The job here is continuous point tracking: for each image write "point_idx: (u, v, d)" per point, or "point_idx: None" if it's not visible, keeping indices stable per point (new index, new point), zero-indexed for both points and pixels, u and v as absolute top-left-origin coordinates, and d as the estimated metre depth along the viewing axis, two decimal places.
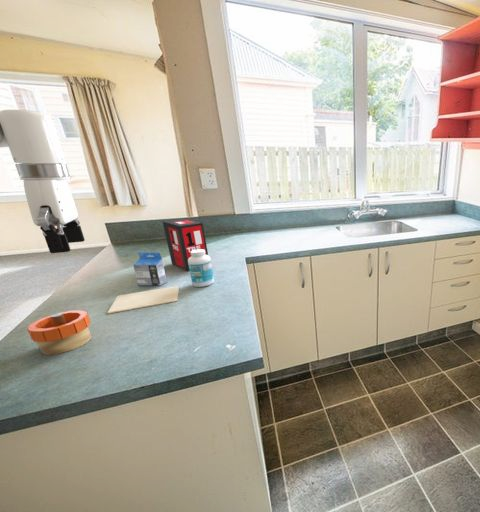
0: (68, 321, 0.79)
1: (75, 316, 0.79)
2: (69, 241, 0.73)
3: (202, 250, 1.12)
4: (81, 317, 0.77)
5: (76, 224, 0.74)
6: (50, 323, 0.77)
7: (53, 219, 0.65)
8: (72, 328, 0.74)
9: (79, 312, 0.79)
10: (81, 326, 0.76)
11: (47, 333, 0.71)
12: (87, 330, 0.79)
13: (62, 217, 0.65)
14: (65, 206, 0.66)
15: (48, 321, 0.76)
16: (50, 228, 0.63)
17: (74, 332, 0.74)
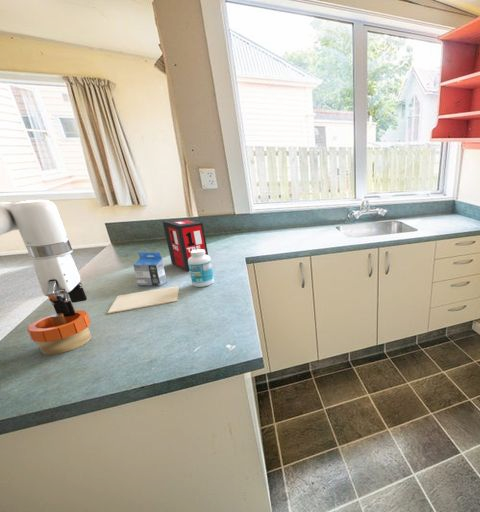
0: (68, 321, 0.79)
1: (75, 316, 0.79)
2: (73, 301, 0.85)
3: (202, 250, 1.12)
4: (81, 317, 0.77)
5: (79, 286, 0.85)
6: (50, 323, 0.77)
7: (59, 288, 0.77)
8: (72, 328, 0.74)
9: (79, 312, 0.79)
10: (81, 326, 0.76)
11: (47, 333, 0.71)
12: (87, 330, 0.79)
13: (67, 287, 0.76)
14: (69, 276, 0.77)
15: (48, 321, 0.76)
16: (58, 299, 0.74)
17: (74, 332, 0.74)
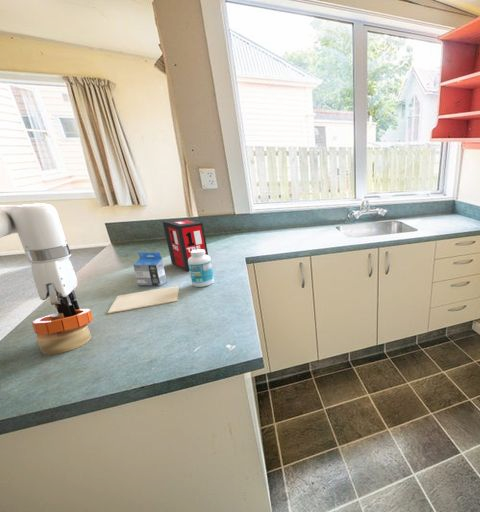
0: None
1: (79, 314, 0.81)
2: None
3: (202, 250, 1.12)
4: (84, 312, 0.79)
5: (73, 299, 0.82)
6: None
7: None
8: (74, 321, 0.76)
9: (83, 309, 0.81)
10: (83, 320, 0.78)
11: (50, 324, 0.73)
12: (87, 330, 0.79)
13: (64, 291, 0.76)
14: (66, 281, 0.77)
15: None
16: (62, 303, 0.77)
17: (76, 325, 0.76)
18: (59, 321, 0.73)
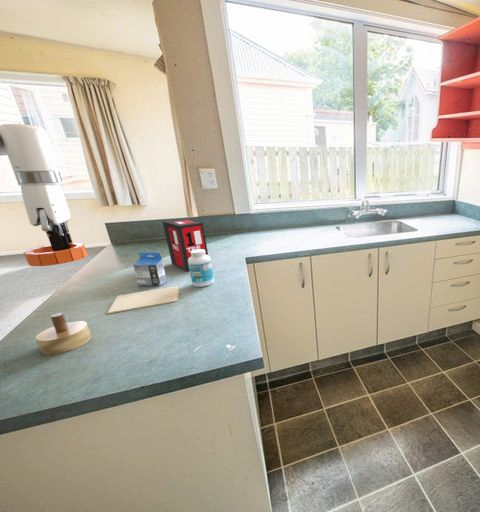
0: None
1: (72, 248, 0.79)
2: None
3: (202, 250, 1.12)
4: (77, 246, 0.76)
5: (65, 231, 0.79)
6: None
7: None
8: (68, 255, 0.74)
9: (76, 243, 0.79)
10: (77, 255, 0.76)
11: (43, 257, 0.71)
12: (87, 330, 0.79)
13: (55, 218, 0.73)
14: (58, 208, 0.75)
15: (45, 250, 0.76)
16: (54, 231, 0.75)
17: (70, 259, 0.74)
18: (52, 254, 0.71)
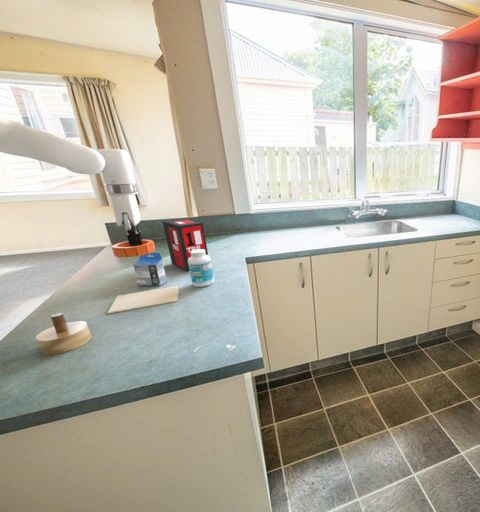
0: None
1: (143, 243, 1.00)
2: None
3: (202, 250, 1.12)
4: (149, 242, 0.97)
5: (138, 231, 1.00)
6: (125, 247, 0.98)
7: None
8: (144, 249, 0.95)
9: (146, 240, 1.00)
10: (150, 249, 0.97)
11: (127, 250, 0.92)
12: (87, 330, 0.79)
13: (134, 220, 0.95)
14: (135, 212, 0.96)
15: (124, 245, 0.97)
16: (132, 230, 0.96)
17: (146, 252, 0.95)
18: (134, 248, 0.92)
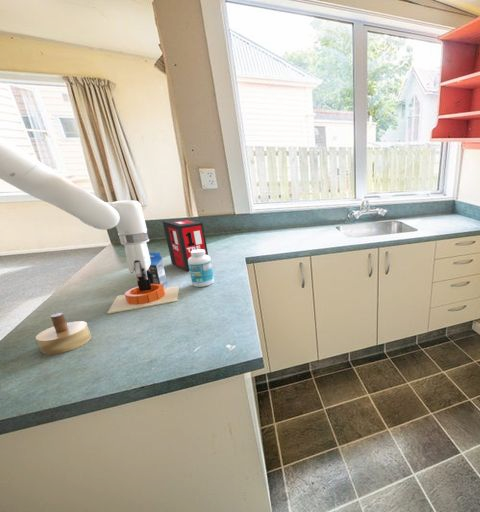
0: (149, 291, 1.05)
1: (154, 288, 1.05)
2: None
3: (202, 250, 1.12)
4: (160, 288, 1.03)
5: (149, 272, 1.07)
6: (137, 292, 1.03)
7: None
8: (155, 295, 1.00)
9: (157, 285, 1.05)
10: (160, 294, 1.02)
11: (139, 298, 0.97)
12: (87, 330, 0.79)
13: (146, 267, 0.99)
14: (147, 259, 1.01)
15: (136, 290, 1.02)
16: (142, 277, 0.99)
17: (156, 298, 1.00)
18: (145, 295, 0.98)
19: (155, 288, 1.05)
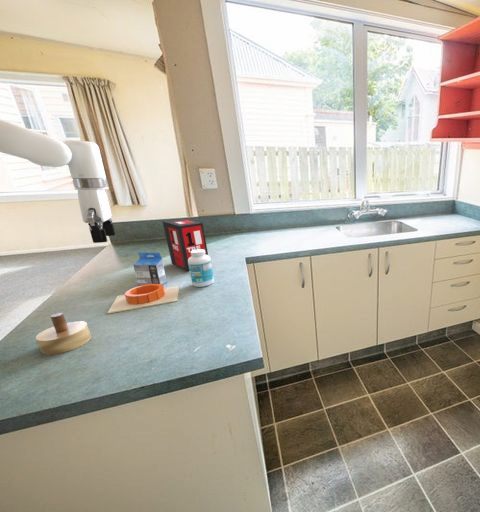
0: (149, 291, 1.05)
1: (154, 288, 1.05)
2: None
3: (202, 250, 1.12)
4: (160, 288, 1.03)
5: (110, 222, 0.98)
6: (137, 292, 1.03)
7: (96, 218, 0.90)
8: (155, 295, 1.00)
9: (157, 285, 1.05)
10: (160, 294, 1.02)
11: (139, 298, 0.97)
12: (87, 330, 0.79)
13: (103, 216, 0.90)
14: (104, 208, 0.91)
15: (136, 290, 1.02)
16: (95, 224, 0.87)
17: (156, 298, 1.00)
18: (145, 295, 0.98)
19: (155, 288, 1.05)
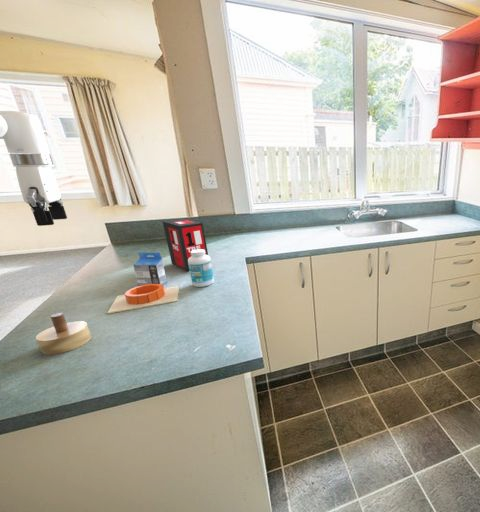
0: (149, 291, 1.05)
1: (154, 288, 1.05)
2: (54, 218, 0.90)
3: (202, 250, 1.12)
4: (160, 288, 1.03)
5: (60, 204, 0.90)
6: (137, 292, 1.03)
7: (40, 198, 0.82)
8: (155, 295, 1.00)
9: (157, 285, 1.05)
10: (160, 294, 1.02)
11: (139, 298, 0.97)
12: (87, 330, 0.79)
13: (47, 197, 0.82)
14: (49, 188, 0.83)
15: (136, 290, 1.02)
16: (37, 205, 0.79)
17: (156, 298, 1.00)
18: (145, 295, 0.98)
19: (155, 288, 1.05)
